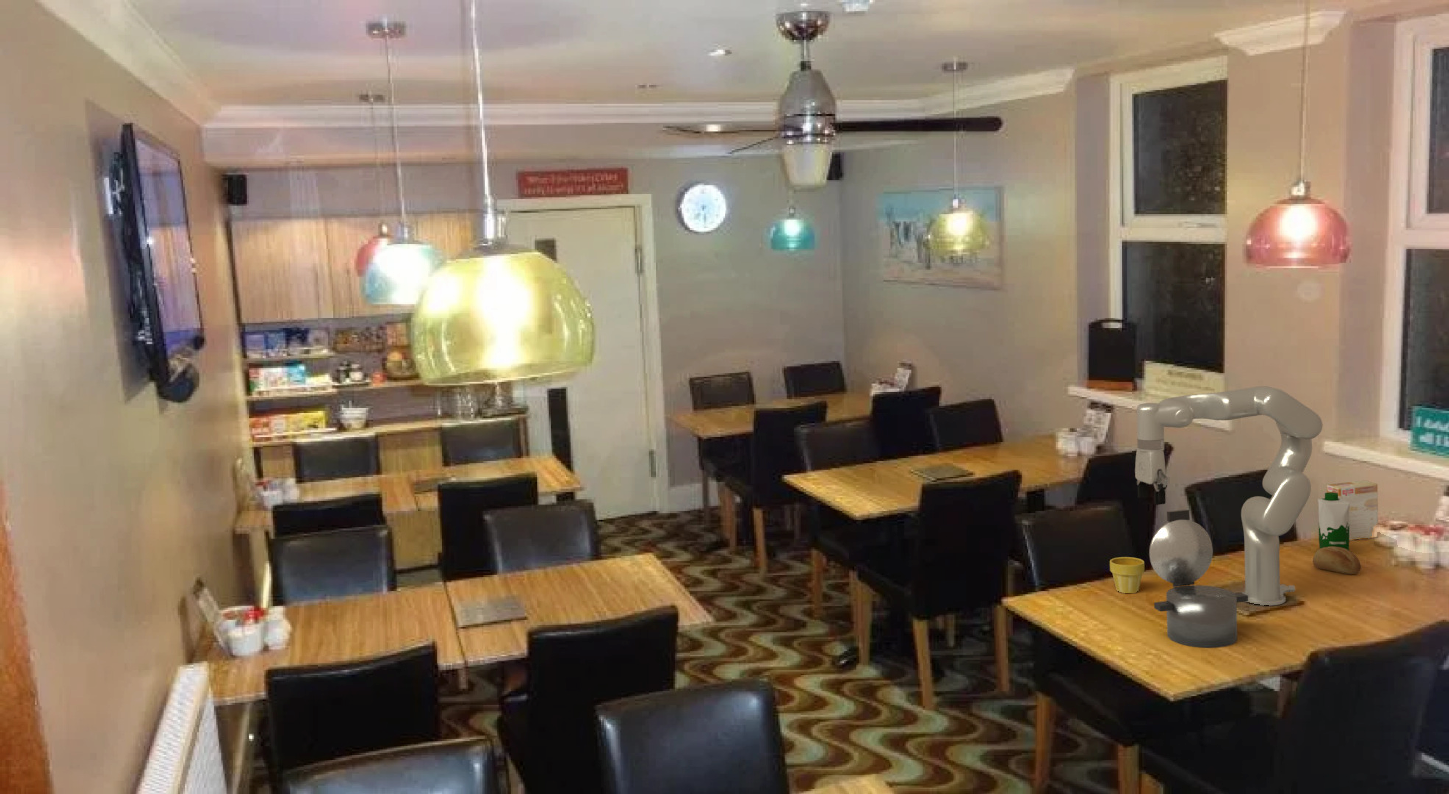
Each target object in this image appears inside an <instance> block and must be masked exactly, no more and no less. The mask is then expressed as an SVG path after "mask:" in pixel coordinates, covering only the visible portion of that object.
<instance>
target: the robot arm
mask: <svg viewBox="0 0 1449 794" xmlns="http://www.w3.org/2000/svg"><path fill="white" fill-rule="evenodd" d="M1256 416H1266V417H1269V418H1271V419H1272V420H1274V421H1275V425H1276V427H1277V429H1278V432H1279V433H1280V438H1281V441H1280V442H1281V443H1280V447H1279V449H1278V451H1277V454H1276V455H1275V457H1274V459H1273V461H1272V462H1271V464H1270V465H1269V467H1268V469H1267V471H1266V473H1265V474H1264V476H1263V478H1262V488H1263V489H1264V490H1265V492H1266V493H1267V494H1269V495H1271V497H1270V498H1267V497H1264V496H1258V495H1257V496H1253V497H1252V496H1251V497H1250V498H1247V500H1245V502H1244V503H1243V505H1242V507H1241V511H1240V517H1241V522H1242V528H1243V530H1242V531H1243V536H1244V537H1243V538H1244V586H1245V587H1244V591H1242V592H1241V593H1243V594H1246V595H1248V601H1246V602H1250V603H1254V604H1260V605H1259V606H1264V605H1269V606H1270V607H1271V606H1279V605H1282V604H1284V603H1285V602H1286V601H1287V598H1286V596H1285V595H1284V594H1286V593H1291V592H1292V593H1294V592H1295V591H1296V587H1295V585H1294V584H1292V585H1286V584H1283V583H1282V584H1281V581H1280V580H1281V578H1280V577H1281V575H1280V573H1281V572H1280V571H1281V569H1280V550H1281V549H1280V538H1279V536H1283V535H1285V534H1286V533H1288V532H1289V531H1290V530H1291V528H1292V527H1293V526H1294V524H1295V523H1296V521H1297V520H1298V518H1299V515H1300V514H1301V512H1302V510H1303V509H1304V507H1305V506H1306V504H1307V502H1308V500H1309V498H1310V496H1311V493H1312V492H1311V491H1312V484H1311V481H1310V479H1309V478H1308V477H1307V475H1306V474H1304V472H1305V469H1306V467H1307V466H1308V463H1309V461H1310V458H1311V456H1312V453H1313V439H1315V438H1316V437H1318V436H1319V435H1320V434H1321V432H1322V430H1323V421H1322V418H1321V417H1320V415H1319V414H1318V413H1316V412H1315V411H1314V410H1312V408H1310V407H1308V406H1306V405H1305V404H1303V403H1302V402H1301V401H1300V400H1297V399H1296V398H1295V397H1293V396H1292V395H1290V394H1288V393H1287V392H1286V391H1284V390H1282V389H1280V388H1276V387H1271V386H1267V385H1261V386H1259V385H1258V386H1253V387H1247V388H1241V389H1240V388H1239V389H1234V390H1229V391H1228V390H1226V391H1220V392H1219V391H1218V392H1208V393H1198V394H1188V395H1186V394H1185V395H1181V396H1180V395H1178V396H1174V397H1169V398H1168V397H1167V398H1164V399H1162V400H1161V401H1159V402H1158V403H1157V402H1143V403H1139V404H1138V405H1137V407H1136V439H1137V440H1136V441H1137V442H1136V445H1137V446H1136V447H1137V448H1136V453H1135V454H1136V455H1135V468H1134V473H1135V475H1134V476H1135V479H1136V485H1137V498H1138V499H1144V498H1149V497H1150V496H1149V495H1150V493H1149V489H1150V488H1149V485H1153V487H1154V491H1153V492H1154V493H1153V494H1154V505H1156V506H1157V505H1165V504H1166V491H1167V488H1168V482H1169V478H1168V476H1167V475H1166V474H1167V473H1166V461H1165V453H1164V451H1165V428H1176V429H1181V428H1185V427H1187V426H1189V425H1190V424H1192V422H1193V421H1194V419H1195V420H1202V419H1203V420H1211V421H1231V420H1237V419H1243V418H1248V417H1249V418H1250V417H1251V418H1252V417H1256ZM1246 602H1245V603H1246ZM1254 604H1253V605H1254Z"/></svg>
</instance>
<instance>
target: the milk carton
mask: <svg viewBox="0 0 1449 794" xmlns="http://www.w3.org/2000/svg"><path fill="white" fill-rule="evenodd" d="M1317 502H1318V503H1317V504H1318V544H1319V549H1320V548H1323V547H1326V548H1327V547H1341V548H1344V549H1347V550H1349V551H1350V541H1349V509H1350V503H1349V502H1347V501H1346V500H1344V499H1342V498H1338V493H1333V492H1328V493H1327V492H1325V493H1324V498H1317Z"/></svg>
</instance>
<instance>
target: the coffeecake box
mask: <svg viewBox="0 0 1449 794" xmlns="http://www.w3.org/2000/svg"><path fill="white" fill-rule="evenodd" d="M1328 492H1333V493H1338V498H1342V499H1344V500H1346V501H1347V502H1349V503H1350V509H1349V540H1350V541H1352V540H1351V539H1358V538H1368V539H1371V538H1370V537H1371V536H1372V531H1373V527H1374V526H1375V525H1376V524H1378V523H1379V522H1378V521H1379V520H1378V519H1379V518H1378V516H1379V513H1378V511H1379V510H1378V508H1379V507H1378V506H1379V503H1378V502H1379V501H1378V500H1379V499H1378V495H1379V494H1378V483H1376V482H1371V481H1369V480H1364V479H1363V480H1357V481H1349V482H1348V481H1347V482H1340V483H1338V482H1337V483H1330V484H1326V493H1328Z"/></svg>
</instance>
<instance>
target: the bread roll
mask: <svg viewBox="0 0 1449 794" xmlns="http://www.w3.org/2000/svg"><path fill="white" fill-rule="evenodd" d="M1312 564H1313V566H1314V567H1315V568H1317V569H1319V570H1320V569H1321V570H1326V571H1329V572H1331V571H1332V572H1337V573H1340V574H1347V575H1355V574H1359V573H1360V572H1361V571H1362V570H1361V569H1362V565H1361V562H1360V560H1359V557H1357V555H1355V553H1353V552H1352V551H1351V550H1350V549H1349V550H1347V549H1344V548H1341V547H1327V548H1326V547H1323V548H1320V547H1319V549H1318V550H1316V552H1315V554H1314V556H1313V559H1312Z"/></svg>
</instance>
